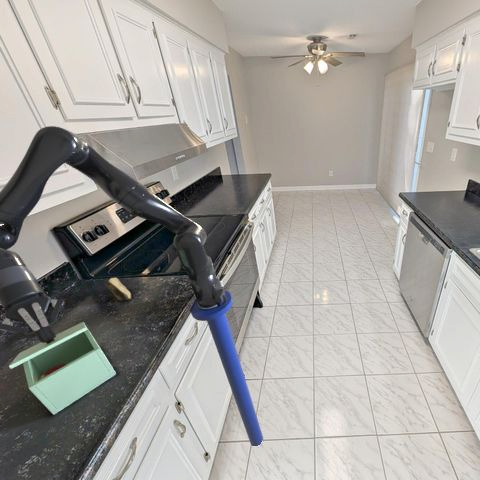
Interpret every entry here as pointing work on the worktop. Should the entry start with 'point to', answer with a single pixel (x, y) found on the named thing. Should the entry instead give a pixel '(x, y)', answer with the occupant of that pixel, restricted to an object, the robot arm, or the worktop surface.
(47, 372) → the onion
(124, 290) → the rock
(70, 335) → the lid
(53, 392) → the chest
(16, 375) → the worktop surface
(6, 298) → the robot arm
